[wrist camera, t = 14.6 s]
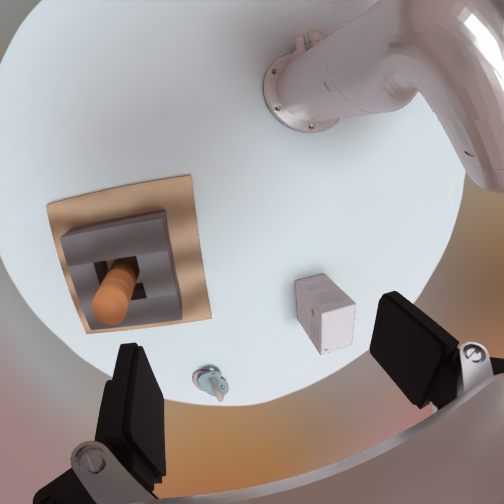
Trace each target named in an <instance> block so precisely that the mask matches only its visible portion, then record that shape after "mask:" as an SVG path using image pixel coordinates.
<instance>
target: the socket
mask: <svg viewBox="0 0 504 504" xmlns="http://www.w3.org/2000/svg"><path fill="white" fill-rule="evenodd" d="M46 208H47V213H48V218H49V222H50V227H51V231H52V235H53V239H54V243H55V246H56V250H57V254H58V257H59V261H60V264H61V267H62V270H63V273H64V277H65V280H66V282H67V285H68V288H69V291H70V294H71V297H72V299H73V302H74V305H75V307H76V310H77V312H78V315H79V317H80V320H81V322H82V324H83V327H84V329H85V331H86V334H93V333H104V332H114V331H124V330H133V329H142V328H150V327H158V326H166V325H173V324H180V323H187V322H194V321H200V320H207V319H212V315H211V310H210V304H209V298H208V292H207V286H206V280H205V274H204V268H203V261H202V255H201V248H200V241H199V234H198V227H197V219H196V212H195V204H194V196H193V187H192V179H191V175H188V176H181V177H175V178H168V179H162V180H156V181H150V182H144V183H139V184H133V185H128V186H123V187H118V188H113V189H108V190H104V191H99V192H95V193H90V194H86V195H82V196H77V197H73V198H69V199H65V200H61V201H58V202H54V203H50V204H47V205H46ZM130 256H136V257H137V261H138V266H139V270H140V272H139V275H138V278H137V281H136V284H135V287H134V290H133V294H132V297H131V300H130V303H129V306H128V310H127V313H126V316H125V319H124V320H123V321H122V322H121V323H119V324H116V325H108V324H105V323H103V322H101V321H99V320H98V319H97V318H96V317H95V315H94V314H93V311H92V307H91V304H92V300H93V298H94V296H95V294H96V293H97V291H98V289H99V287H100V285H101V283H102V282H103V280H104V278H105V276H106V275H107V273H108V271H109V269H110V268H111V266H112V264H113V263H114V261H115V259H118V258H124V257H130Z"/></svg>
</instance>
